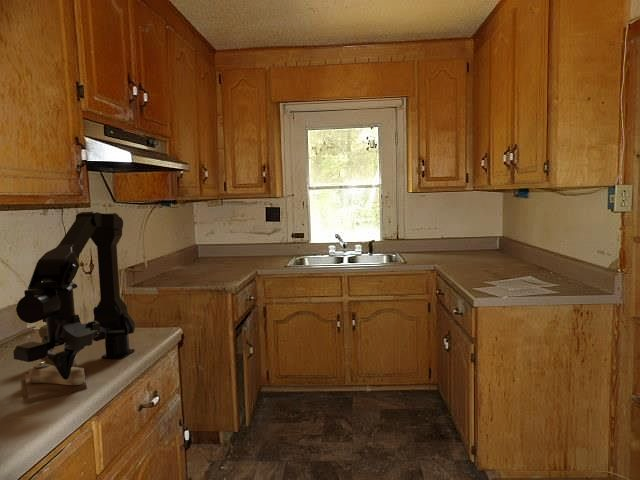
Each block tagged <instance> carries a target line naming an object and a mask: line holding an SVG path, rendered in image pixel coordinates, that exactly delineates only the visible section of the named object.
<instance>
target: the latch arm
mask: <svg viewBox="0 0 640 480" xmlns="http://www.w3.org/2000/svg"><path fill="white" fill-rule="evenodd" d="M28 374H29V377H30V382H31V383H40V382H43V383H53V384H64V385H80V384H82V383H84V382H85V383H86V376H85V375H86V374H85V368H84V367H78V368H77V367H71V371H70V374H69V377H68V379H66V380H65V379H63V378H62V376H61V375H60V373H59V372H58V370H57V368H56V367H55V366H51V365H50V364H46V366H44V367H42V368H33V366H30V367H29V368H28Z"/></svg>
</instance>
